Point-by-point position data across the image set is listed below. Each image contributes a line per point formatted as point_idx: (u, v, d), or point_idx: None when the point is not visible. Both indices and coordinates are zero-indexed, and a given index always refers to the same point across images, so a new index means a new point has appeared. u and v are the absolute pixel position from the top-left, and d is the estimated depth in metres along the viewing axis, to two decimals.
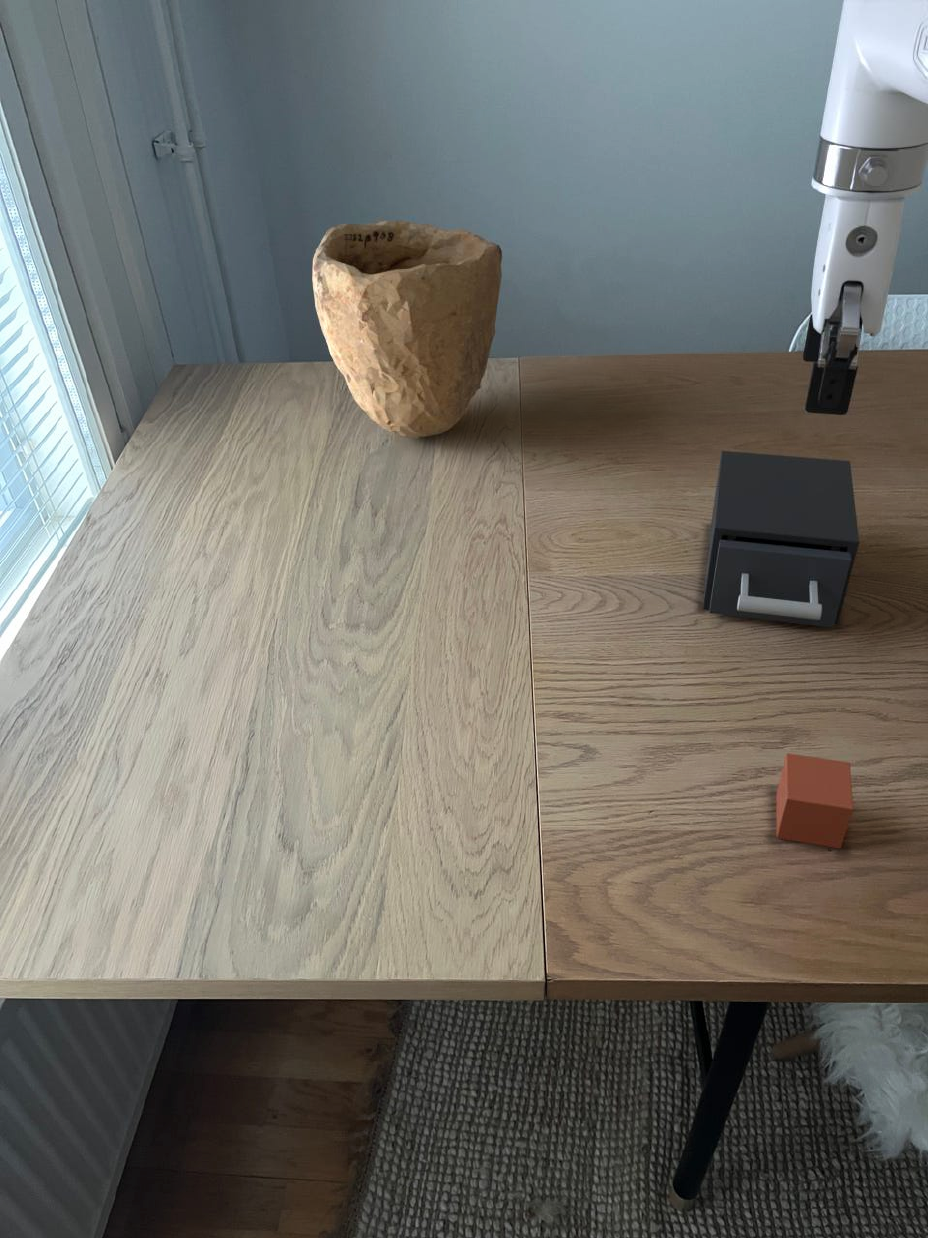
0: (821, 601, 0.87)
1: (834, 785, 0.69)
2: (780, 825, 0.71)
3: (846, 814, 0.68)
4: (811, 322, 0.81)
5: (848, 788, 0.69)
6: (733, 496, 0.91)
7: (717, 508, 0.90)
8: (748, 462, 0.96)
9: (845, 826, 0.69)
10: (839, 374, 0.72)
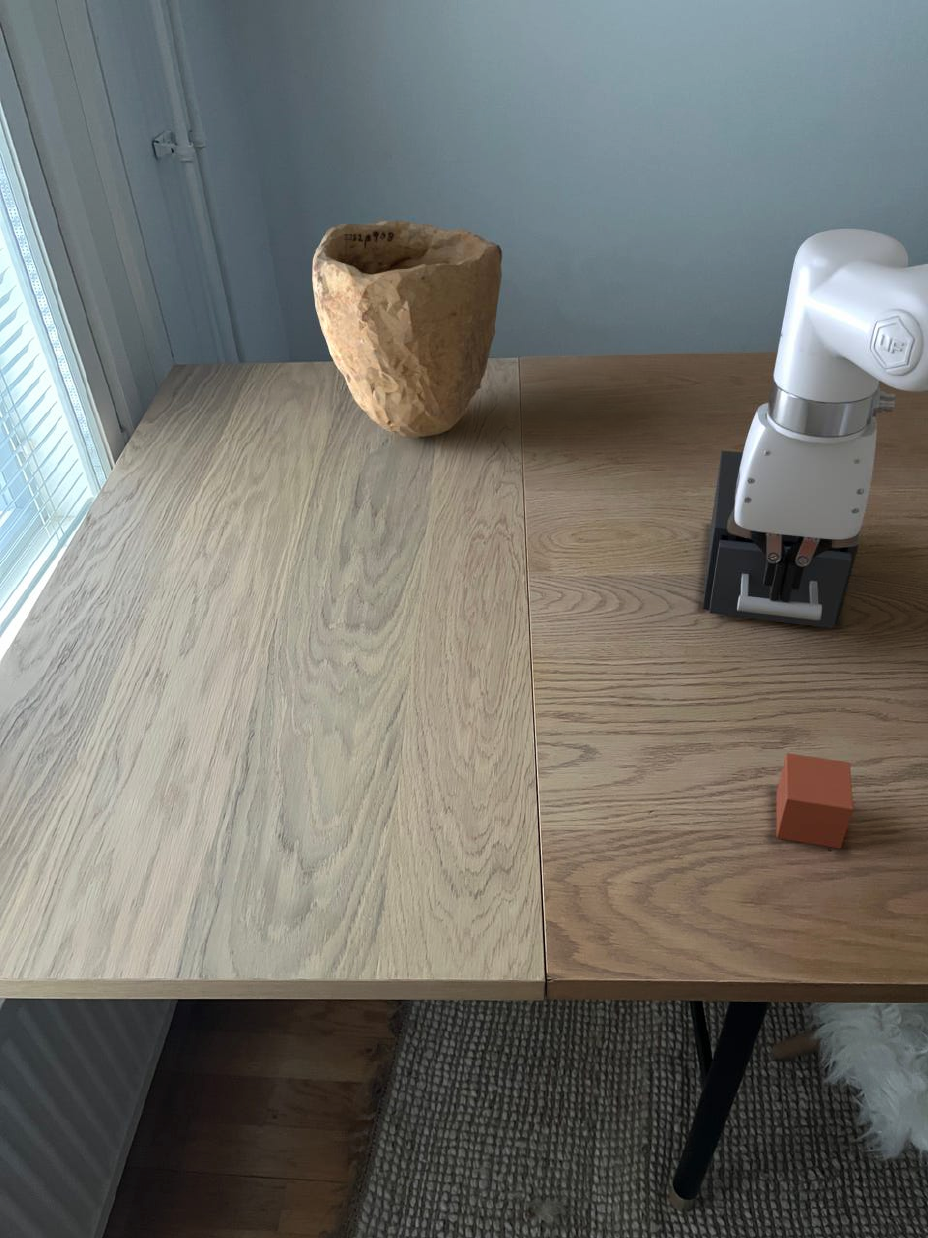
0: (821, 601, 0.87)
1: (834, 785, 0.69)
2: (780, 825, 0.71)
3: (846, 814, 0.68)
4: (784, 569, 0.81)
5: (848, 788, 0.69)
6: (733, 496, 0.91)
7: (717, 508, 0.90)
8: None
9: (845, 826, 0.69)
10: None
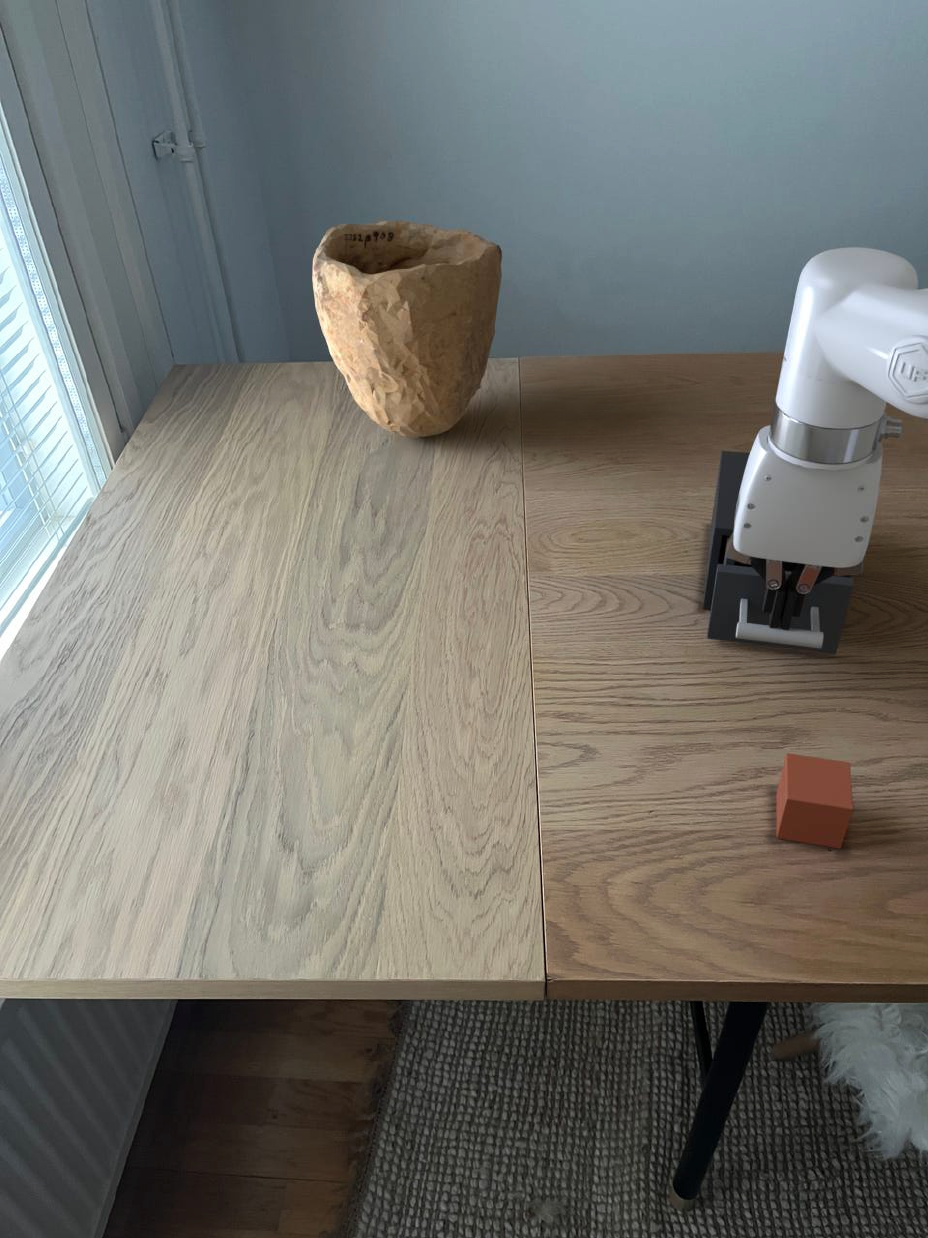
0: (822, 627, 0.84)
1: (834, 785, 0.69)
2: (780, 825, 0.71)
3: (846, 814, 0.68)
4: (784, 596, 0.78)
5: (848, 788, 0.69)
6: (733, 496, 0.91)
7: (717, 508, 0.90)
8: None
9: (845, 826, 0.69)
10: None
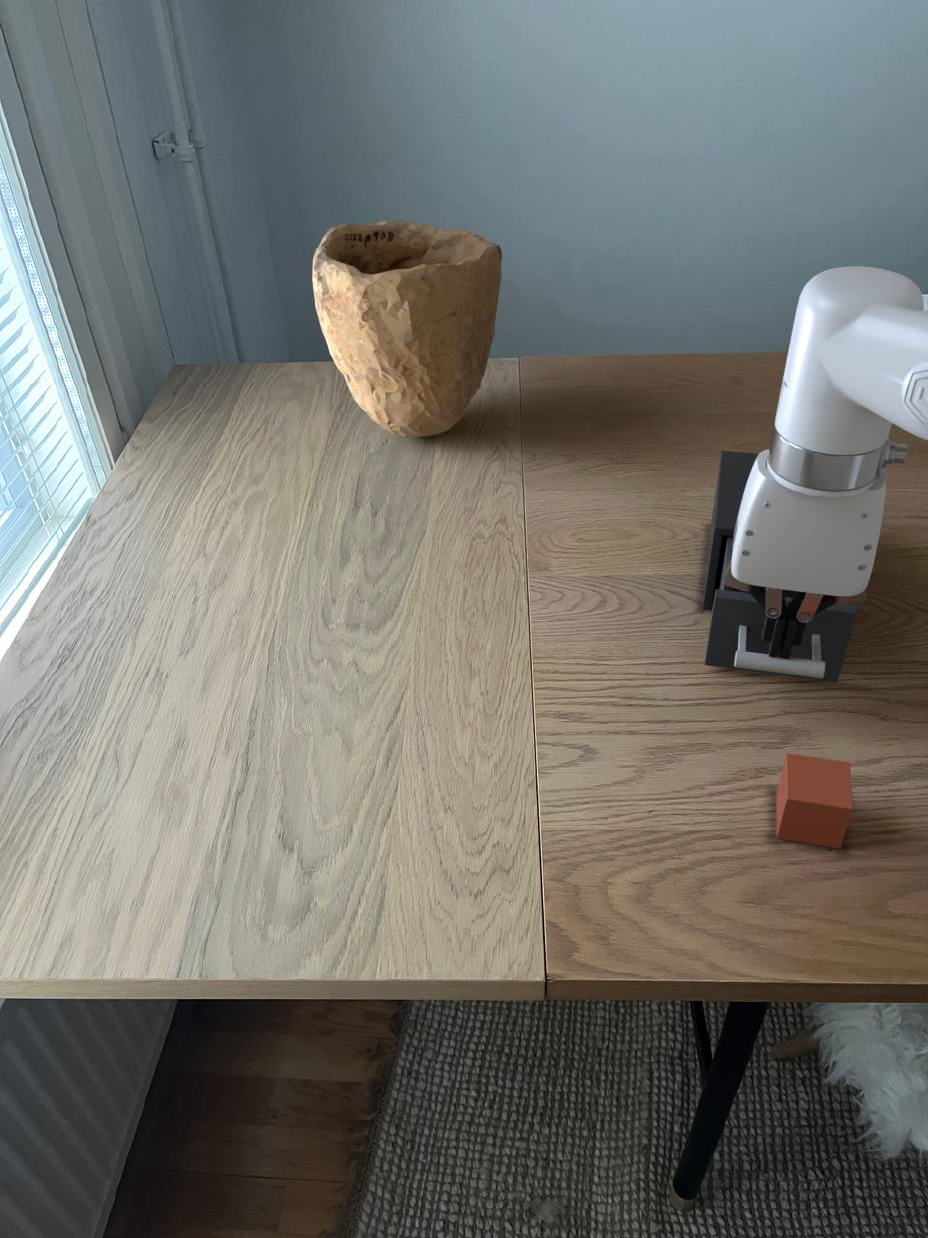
0: (824, 655, 0.82)
1: (834, 785, 0.69)
2: (780, 825, 0.71)
3: (846, 814, 0.68)
4: (784, 625, 0.75)
5: (848, 788, 0.69)
6: (733, 496, 0.91)
7: (717, 508, 0.90)
8: (748, 462, 0.96)
9: (845, 826, 0.69)
10: None
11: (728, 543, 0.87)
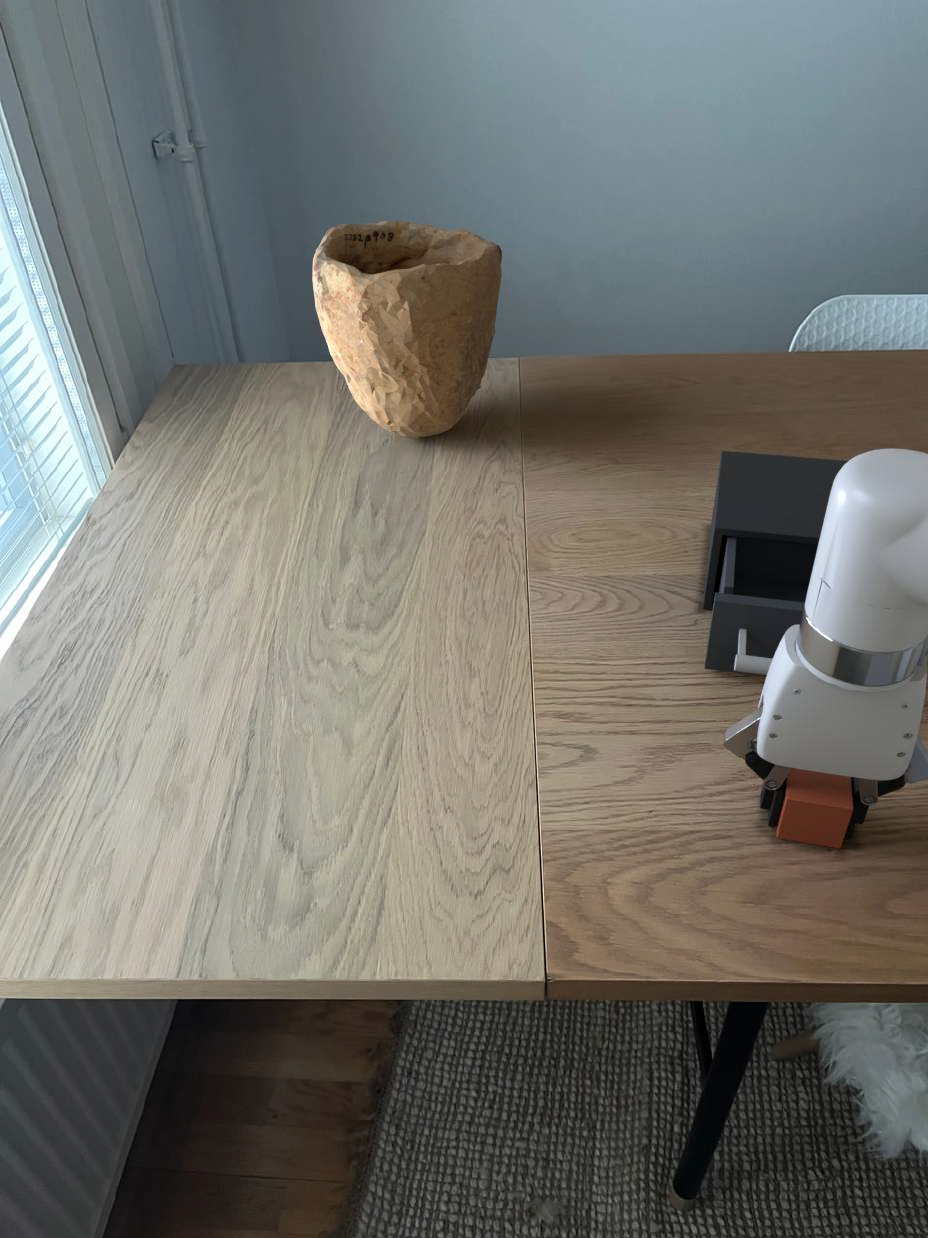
0: None
1: (834, 785, 0.69)
2: (780, 825, 0.71)
3: (846, 814, 0.68)
4: (783, 797, 0.70)
5: (848, 788, 0.69)
6: (733, 496, 0.91)
7: (717, 508, 0.90)
8: (748, 462, 0.96)
9: (845, 826, 0.69)
10: None
11: (728, 546, 0.87)
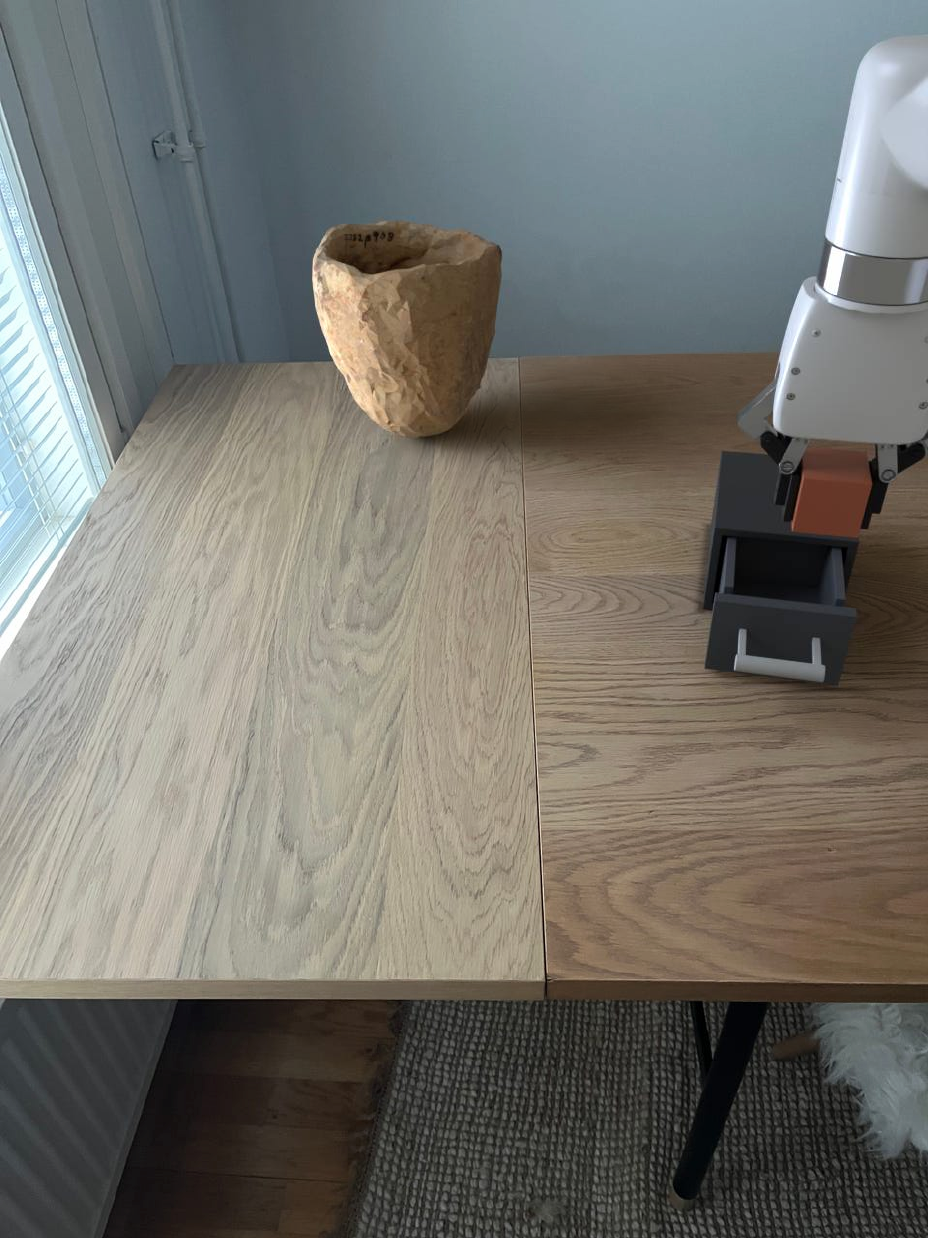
0: (824, 659, 0.81)
1: (852, 466, 0.67)
2: (796, 514, 0.68)
3: (865, 491, 0.66)
4: (799, 482, 0.68)
5: (866, 468, 0.67)
6: (733, 496, 0.91)
7: (717, 508, 0.90)
8: (748, 462, 0.96)
9: (863, 507, 0.67)
10: None
11: (728, 546, 0.87)
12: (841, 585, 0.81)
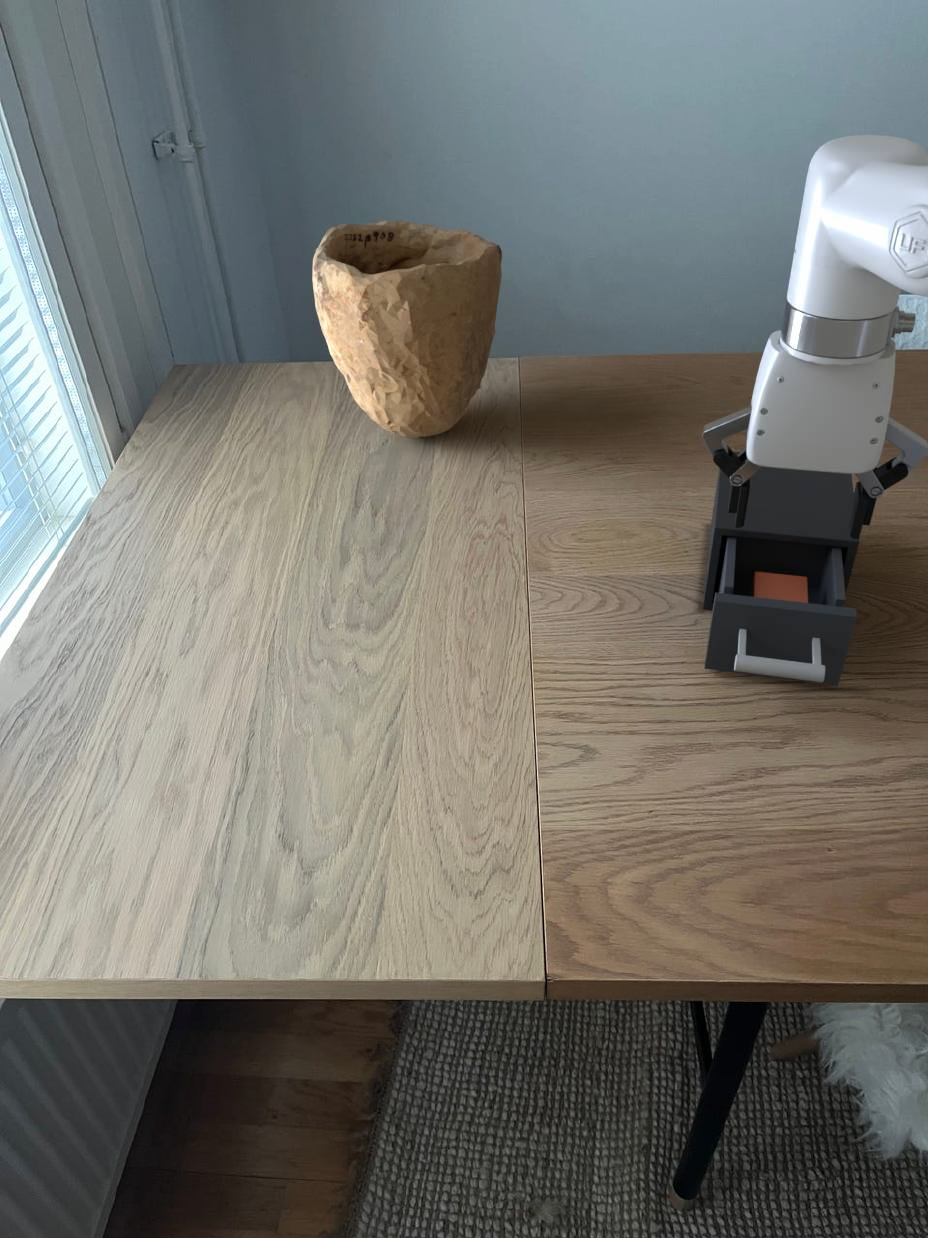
0: (824, 659, 0.81)
1: (794, 591, 0.84)
2: None
3: None
4: (748, 493, 0.78)
5: (804, 593, 0.84)
6: None
7: (717, 508, 0.90)
8: None
9: None
10: None
11: (728, 546, 0.87)
12: (841, 585, 0.81)
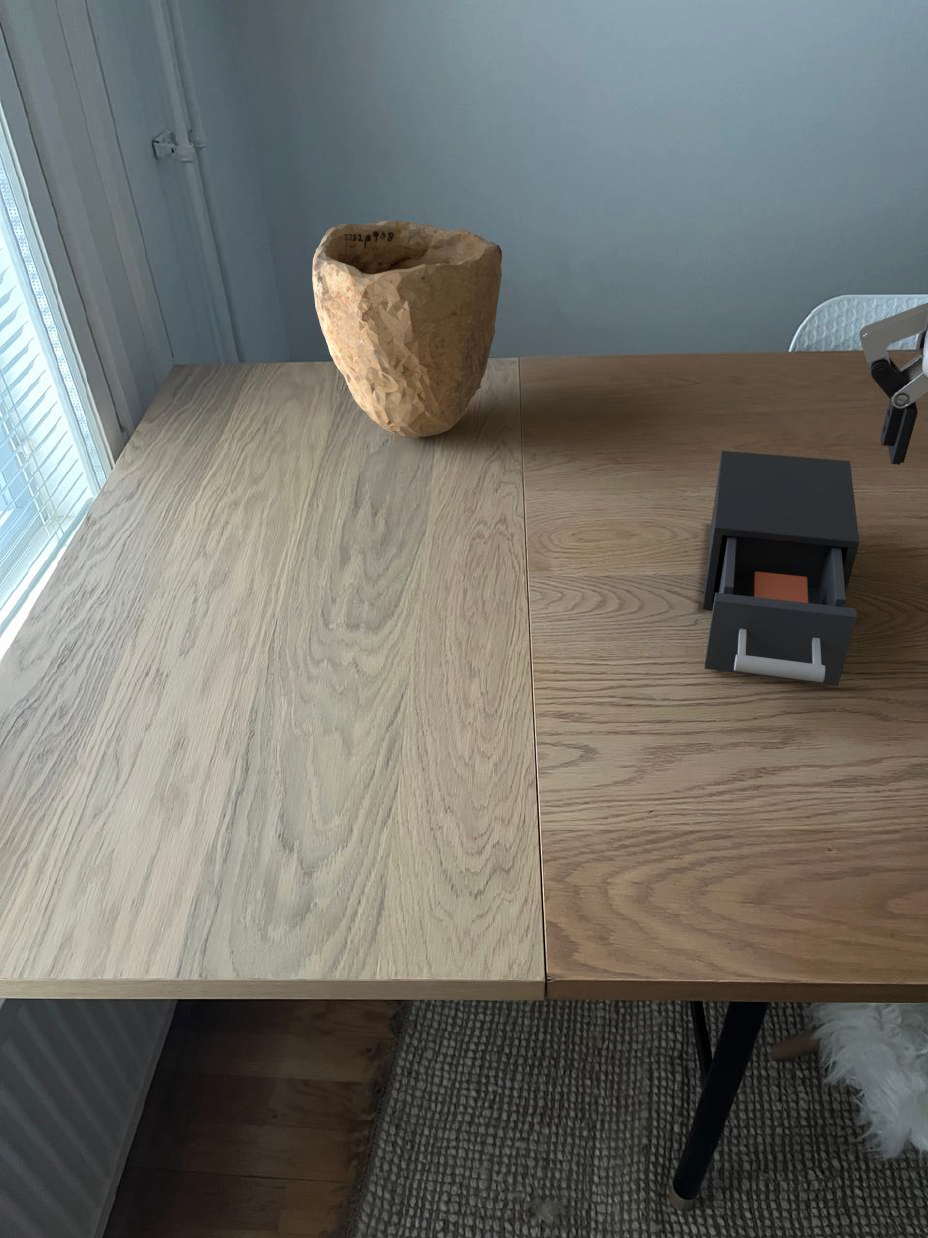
0: (824, 659, 0.81)
1: (794, 591, 0.84)
2: None
3: None
4: (915, 417, 0.60)
5: (804, 593, 0.84)
6: (733, 496, 0.91)
7: (717, 508, 0.90)
8: (748, 462, 0.96)
9: None
10: None
11: (728, 546, 0.87)
12: (841, 585, 0.81)
